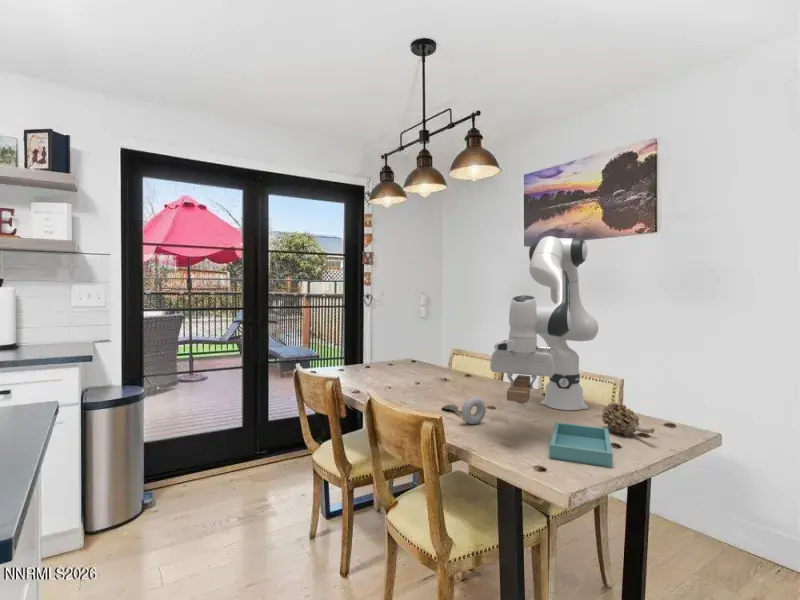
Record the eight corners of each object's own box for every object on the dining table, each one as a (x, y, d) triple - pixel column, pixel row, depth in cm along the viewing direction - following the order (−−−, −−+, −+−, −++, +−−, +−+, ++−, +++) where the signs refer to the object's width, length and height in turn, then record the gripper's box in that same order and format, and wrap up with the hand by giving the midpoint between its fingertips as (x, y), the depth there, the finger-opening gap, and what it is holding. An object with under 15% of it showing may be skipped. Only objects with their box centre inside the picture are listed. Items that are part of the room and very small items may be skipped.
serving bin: (554, 433, 154) (555, 422, 153) (607, 440, 147) (608, 428, 147) (549, 458, 131) (550, 445, 131) (611, 467, 125) (612, 453, 125)
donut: (464, 427, 159) (465, 399, 159) (459, 424, 163) (459, 396, 162) (487, 423, 164) (488, 396, 164) (481, 421, 167) (482, 394, 167)
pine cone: (592, 428, 160) (593, 400, 160) (613, 425, 164) (614, 398, 164) (647, 449, 140) (647, 417, 140) (669, 445, 143) (670, 414, 143)
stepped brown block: (514, 389, 154) (515, 374, 154) (533, 390, 152) (533, 376, 152) (506, 400, 139) (507, 384, 138) (526, 402, 136) (527, 386, 136)
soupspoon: (454, 409, 186) (439, 411, 185) (454, 401, 186) (439, 403, 185) (476, 423, 165) (459, 425, 163) (476, 414, 165) (459, 416, 163)
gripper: (556, 346, 146) (555, 388, 146) (493, 342, 153) (492, 382, 154) (555, 348, 140) (554, 393, 140) (489, 344, 148) (488, 386, 148)
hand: (521, 387), depth 147 cm, fingers closed on stepped brown block, 4 cm apart
